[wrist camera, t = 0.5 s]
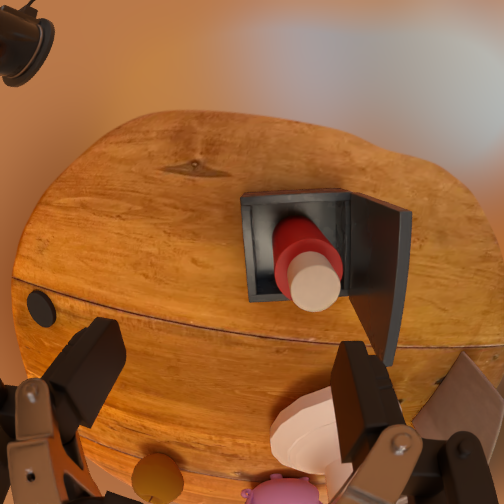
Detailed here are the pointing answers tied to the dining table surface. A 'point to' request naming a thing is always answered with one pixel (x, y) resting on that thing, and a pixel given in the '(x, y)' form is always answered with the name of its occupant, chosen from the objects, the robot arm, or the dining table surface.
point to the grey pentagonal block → (463, 407)
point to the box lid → (379, 269)
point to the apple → (157, 479)
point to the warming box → (279, 207)
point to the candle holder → (311, 439)
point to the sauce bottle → (306, 264)
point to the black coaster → (41, 308)
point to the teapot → (283, 491)
